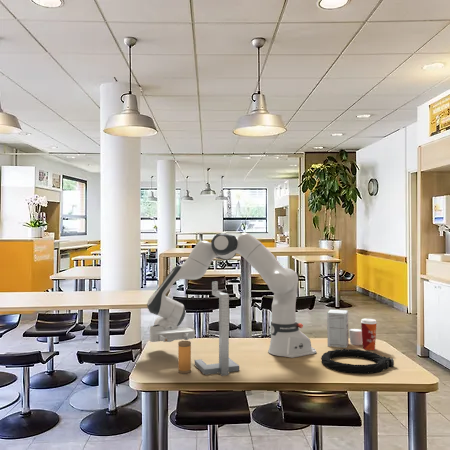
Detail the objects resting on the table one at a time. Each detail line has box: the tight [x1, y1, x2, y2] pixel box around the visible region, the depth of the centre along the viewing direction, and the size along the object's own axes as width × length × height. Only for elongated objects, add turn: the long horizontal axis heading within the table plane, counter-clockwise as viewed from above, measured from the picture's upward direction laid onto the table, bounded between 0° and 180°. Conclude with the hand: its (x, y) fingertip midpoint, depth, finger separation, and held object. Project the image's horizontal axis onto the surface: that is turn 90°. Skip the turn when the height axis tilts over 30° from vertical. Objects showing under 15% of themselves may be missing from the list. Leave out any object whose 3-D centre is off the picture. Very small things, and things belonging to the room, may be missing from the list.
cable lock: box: [320, 348, 395, 375], centre depth 194 cm, size 28×4×30 cm
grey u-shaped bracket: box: [194, 357, 240, 375], centre depth 189 cm, size 15×14×2 cm
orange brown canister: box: [177, 340, 192, 375], centre depth 184 cm, size 5×5×12 cm
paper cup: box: [360, 317, 378, 351], centre depth 219 cm, size 8×8×14 cm
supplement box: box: [326, 309, 350, 349], centre depth 226 cm, size 10×9×17 cm
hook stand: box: [211, 280, 230, 377], centre depth 186 cm, size 3×14×36 cm, turn 20°
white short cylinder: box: [348, 328, 363, 346], centre depth 229 cm, size 7×7×7 cm
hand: (176, 339), depth 195 cm, fingers open, 8 cm apart
